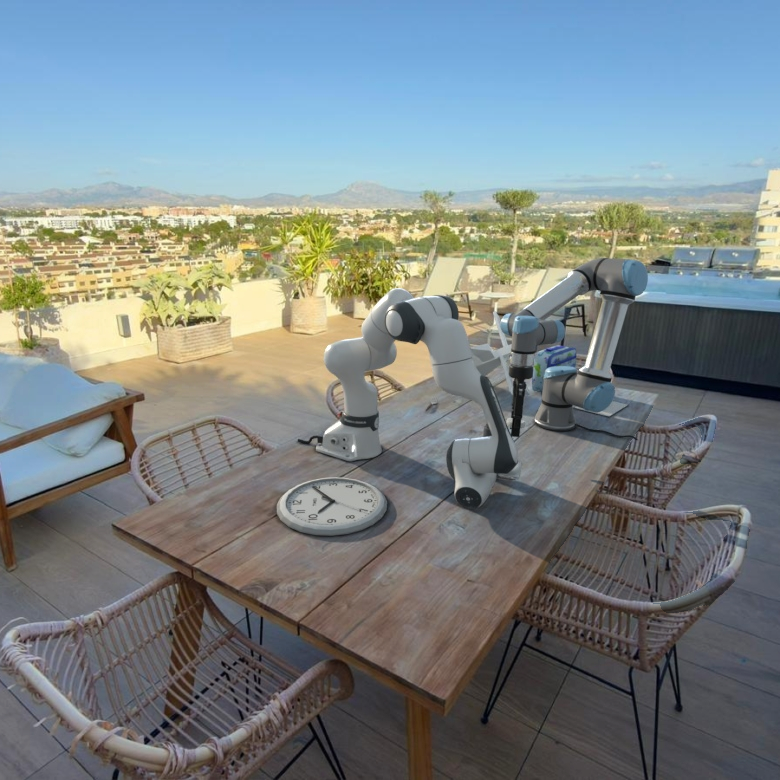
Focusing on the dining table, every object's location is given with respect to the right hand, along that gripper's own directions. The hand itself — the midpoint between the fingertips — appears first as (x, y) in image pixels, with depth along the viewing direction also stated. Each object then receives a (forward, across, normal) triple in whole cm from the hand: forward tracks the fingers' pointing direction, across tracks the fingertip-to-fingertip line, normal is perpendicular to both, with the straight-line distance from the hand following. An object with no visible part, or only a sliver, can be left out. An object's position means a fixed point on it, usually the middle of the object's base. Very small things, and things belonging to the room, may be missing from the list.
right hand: (514, 432), depth 173 cm
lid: (-4, 0, 0) cm, 4 cm away
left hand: (+2, +15, -8) cm, 17 cm away
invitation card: (+8, -61, +41) cm, 73 cm away
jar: (+9, +16, -8) cm, 19 cm away
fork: (+8, -45, -32) cm, 55 cm away
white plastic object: (+8, -70, -12) cm, 71 cm away
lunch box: (+8, -81, +22) cm, 84 cm away
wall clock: (+9, +43, -50) cm, 67 cm away
